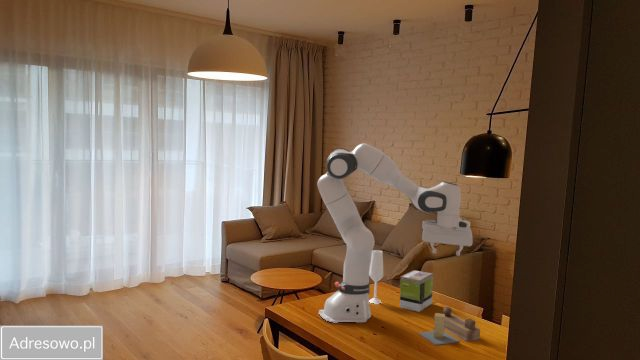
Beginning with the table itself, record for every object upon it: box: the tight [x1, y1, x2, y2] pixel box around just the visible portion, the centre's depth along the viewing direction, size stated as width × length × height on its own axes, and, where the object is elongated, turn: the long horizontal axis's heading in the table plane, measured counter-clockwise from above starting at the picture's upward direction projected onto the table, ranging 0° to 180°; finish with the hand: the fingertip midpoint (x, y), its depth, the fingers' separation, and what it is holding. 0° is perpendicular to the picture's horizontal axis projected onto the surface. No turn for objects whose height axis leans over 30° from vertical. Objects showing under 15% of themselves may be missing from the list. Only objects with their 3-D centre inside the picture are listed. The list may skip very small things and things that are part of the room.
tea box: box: [399, 269, 434, 313], centre depth 212 cm, size 15×10×15 cm, turn 144°
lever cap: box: [433, 312, 445, 339], centre depth 176 cm, size 4×4×8 cm
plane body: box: [442, 306, 481, 342], centre depth 183 cm, size 7×18×7 cm, turn 22°
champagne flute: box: [369, 249, 384, 305], centre depth 215 cm, size 7×7×24 cm
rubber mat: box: [418, 330, 461, 346], centre depth 176 cm, size 11×11×1 cm
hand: (446, 254), depth 191 cm, fingers open, 8 cm apart
